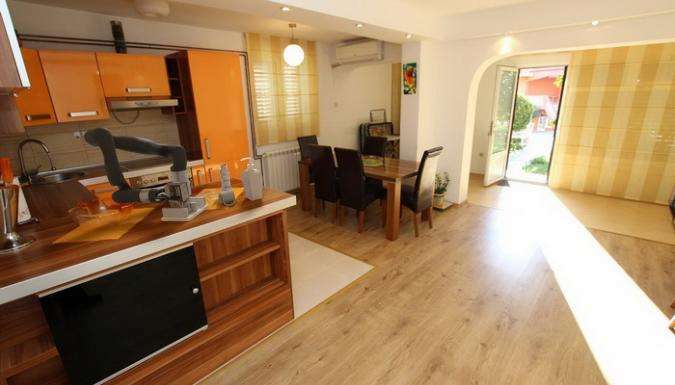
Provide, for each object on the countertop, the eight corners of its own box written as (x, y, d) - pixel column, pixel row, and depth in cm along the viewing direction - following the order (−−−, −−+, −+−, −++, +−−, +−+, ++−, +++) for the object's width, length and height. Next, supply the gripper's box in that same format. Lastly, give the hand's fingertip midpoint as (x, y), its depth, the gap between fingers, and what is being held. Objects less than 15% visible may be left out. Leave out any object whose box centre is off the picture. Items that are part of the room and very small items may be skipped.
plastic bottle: (222, 196, 199) (218, 166, 193) (221, 193, 205) (217, 164, 199) (233, 194, 202) (229, 164, 196) (231, 192, 208) (227, 163, 202)
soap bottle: (240, 197, 195) (236, 157, 188) (255, 194, 202) (251, 155, 194) (249, 202, 186) (245, 160, 179) (264, 198, 193) (260, 157, 185)
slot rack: (184, 207, 181) (182, 196, 179) (208, 207, 180) (206, 196, 178) (161, 220, 161) (159, 209, 159) (189, 221, 160) (187, 209, 158)
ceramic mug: (218, 203, 186) (217, 191, 184) (232, 200, 191) (230, 188, 189) (224, 208, 178) (222, 195, 176) (238, 204, 183) (236, 192, 181)
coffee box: (192, 210, 168) (187, 181, 163) (185, 214, 162) (180, 185, 157) (176, 209, 169) (171, 181, 164) (169, 214, 162) (163, 184, 158)
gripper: (141, 193, 156) (173, 193, 154) (159, 185, 169) (188, 185, 168) (144, 207, 158) (175, 207, 156) (161, 198, 171) (190, 198, 170)
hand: (182, 196), depth 162 cm, fingers closed on coffee box, 6 cm apart
